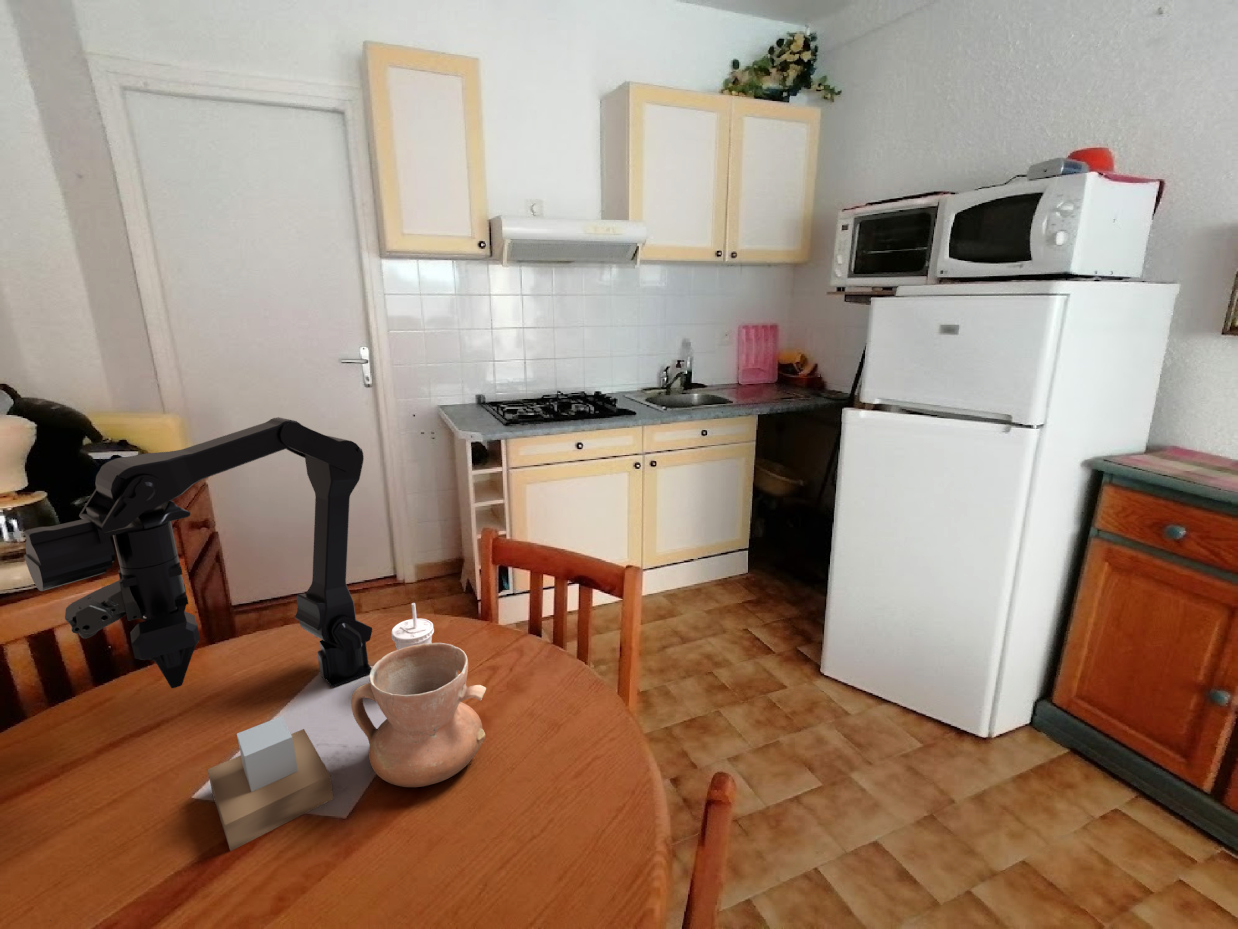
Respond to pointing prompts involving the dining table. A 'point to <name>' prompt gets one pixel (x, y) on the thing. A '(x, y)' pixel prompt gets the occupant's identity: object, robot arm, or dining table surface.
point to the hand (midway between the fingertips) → (173, 669)
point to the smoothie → (412, 631)
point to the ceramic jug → (420, 715)
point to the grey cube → (267, 753)
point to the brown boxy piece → (268, 794)
